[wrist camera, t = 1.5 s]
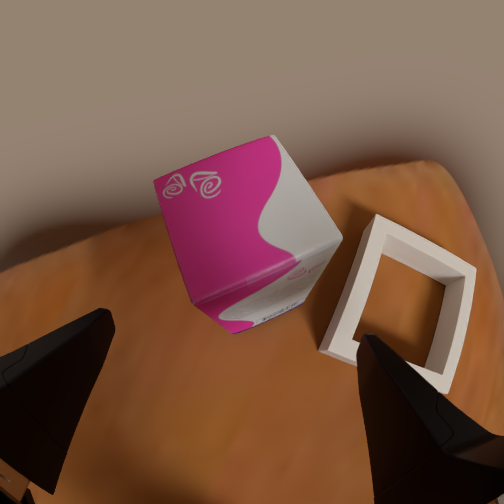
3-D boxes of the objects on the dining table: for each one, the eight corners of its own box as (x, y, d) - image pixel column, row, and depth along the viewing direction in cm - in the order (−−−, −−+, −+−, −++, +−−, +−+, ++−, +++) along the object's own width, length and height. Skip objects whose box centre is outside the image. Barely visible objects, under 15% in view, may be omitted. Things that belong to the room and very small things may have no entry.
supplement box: (270, 235, 22) (278, 128, 11) (304, 304, 20) (353, 244, 9) (201, 264, 21) (148, 176, 10) (231, 336, 19) (194, 315, 8)
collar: (426, 391, 17) (447, 394, 14) (317, 350, 19) (327, 350, 16) (456, 278, 20) (476, 268, 17) (363, 230, 22) (376, 213, 19)
